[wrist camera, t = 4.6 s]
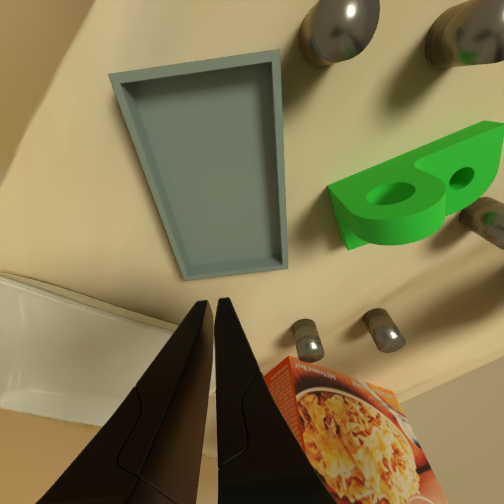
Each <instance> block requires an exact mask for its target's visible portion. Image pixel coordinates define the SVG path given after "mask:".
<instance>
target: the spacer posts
mask: <svg viewBox="0 0 504 504" xmlns="http://www.w3.org/2000/svg"><path fill="white" fill-rule="evenodd" d="M379 13H380V3H379V0H319V1H318V2H317V3H316V4H315V6H314V7H313V8H312V9H311V10H310V11H309V12H308V14H307V15H306V17H305V19H304V21H303V23H302V26H301V30H300V38H299V41H300V48H301V52H302V54H303V56H304V58H305V59H306V60H307V61H308V62H309V63H310V64H312V65H314V66H319V67H320V66H326V65H330V64H334V63H337V62H341V61H345V60H349V59H351V58H353V57H355V56H357V55H358V54H359V53H361V52H362V51H363V50H364V49H365V47H366V46H367V45H368V44H369V42H370V41H371V39H372V37H373V35H374V33H375V30H376V28H377V24H378V20H379ZM425 56H426V59H427V61H428V63H429V64H430V65H431V66H433V67H435V68H448V67H458V66H468V65H478V64H488V63H496V62H500V61H503V60H504V0H469V1H467V2H464V3H461V4H459V5H456V6H454V7H451V8H449V9H448V10H446V11H445V12H444V13H443V14H442V15H441V16H440V17H439V18H438V19H437V20H436V21H435V23H434V24H433V26H432V28H431V29H430V31H429V34H428V36H427V39H426V44H425ZM460 223H461V224H462V225H463V226H465V227H466V228H468V229H470V230H471V231H473V232H474V233H476V234H478V235H479V236H481V237H483V238H484V239H486V240H487V241H489V242H491V243H492V244H494V245H496V246H497V247H499V248H500V249H503V250H504V203H501V202H499V201H497V200H495V199H492V198H490V197H482V198H479V199H477V200H476V201H475V202H473V203H472V204H471V205H469V206H467V207H466V208H464V210H463V211H462V212H461V215H460ZM363 321H364V323H365V325H366V327H367V329H368V330H369V332H370V334H371V336H372V338H373V340H374V342H375V344H376V346H377V347H378V349H379V351H381V352H385V353H389V352H394V351H397V350H399V349H401V348H402V347H403V346H404V345H405V343H406V340H405V339H404V337H403V335H402V334H401V332H400V331H399V329H398V328H397V326H396V325H395V323H394V322H393V320H392V319H391V317H390V316H389V314H388V313H387V311H386V310H384V309H381V308H378V309H373V310H371V311H369V312H367V313H366V314H365V315H364V317H363ZM292 330H293V335H294V339H295V344H296V349H297V353H298V358H299V360H300V361H302V362H305V363H313V362H317V361H319V360H321V359H322V358H323V357H324V350H323V347H322V344H321V340H320V337H319V334H318V331H317V328H316V325H315V322H314V321H312V320H310V319H302V320H299V321H297V322H295V323H294V324H293V326H292Z"/></svg>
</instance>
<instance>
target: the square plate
mask: <svg viewBox="0 0 504 504" xmlns="http://www.w3.org/2000/svg"><path fill="white" fill-rule="evenodd" d="M178 326H179V325H175V324H172V323H169V322H165V321H162V320H159V319H156V318H152V317H149V316H146V315H143V314H140V313H136V312H133V311H130V310H127V309H124V308H121V307H118V306H115V305H112V304H109V303H106V302H103V301H100V300H97V299H94V298H91V297H88V296H86V295H83V294H80V293H76V292H73V291H70V290H67V289H64V288H61V287H58V286H54V285H51V284H47V283H44V282H40V281H37V280H33V279H29V278H26V277H22V276H18V275H13V274H7V273H0V408H1V409H7V410H12V411H18V412H23V413H28V414H33V415H38V416H44V417H49V418H54V419H60V420H65V421H71V422H77V423H84V424H90V425H97V426H104V424H105V423H106V422H107V421H108V420H109V418H110V417H111V416H112V415H113V413H114V412H115V411H116V410H117V408H118V407H119V406H120V404H121V403H122V402H123V400H124V399H125V398H126V396H127V395H128V394H129V392H130V391H131V390H132V388H133V387H134V386H136V383H137V382H138V380H139V379H140V378H141V376H142V375H143V374H144V372H145V371H146V370H147V368H148V367H149V365H150V364H151V363H152V361H153V360H154V359H155V357H156V356H157V355H158V353H159V352H160V351H161V349H162V348H163V346H164V345H165V344H166V342H167V341H168V340H169V338H170V337H171V336H172V334H173V333H174V332H175V330H176V329H177V327H178ZM215 390H216V377H215V342H214V336H213V365H212V374H211V382H210V390H209V397H210V396H211V394H212V393H213V392H214V391H215Z"/></svg>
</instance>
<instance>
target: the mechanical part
mask: <svg viewBox="0 0 504 504" xmlns="http://www.w3.org/2000/svg"><path fill="white" fill-rule="evenodd" d="M503 138H504V123H498V122H491V121H482V122H479V123H477V124H475V125H472V126H470V127H467V128H465V129H462V130H460V131H458V132H455V133H453V134H450V135H448V136H446V137H443V138H441V139H438V140H436V141H434V142H431V143H429V144H426V145H424V146H422V147H419V148H417V149H414V150H412V151H409V152H407V153H405V154H402V155H400V156H397V157H395V158H393V159H390V160H388V161H385V162H383V163H381V164H378V165H376V166H373V167H371V168H369V169H366V170H364V171H361V172H359V173H357V174H354V175H352V176H349V177H347V178H344V179H342V180H340V181H337V182H335V183H332V184H330V185H328V186H327V187H328V191H329V195H330V199H331V202H332V206H333V210H334V214H335V218H336V222H337V225H338V229H339V233H340V237H341V241H342V242H343V244H344V245H345V247H346V248H347V250H348V251H349V250H351V249H354V248H357V247H360V246H363V245H365V244H368V243H372V244H377V245H402V244H408V243H413V242H416V241H419V240H422V239H424V238H426V237H428V236H430V235H432V234H433V233H435V232H436V231H437V230H438V229H439V228H440V227H441V226H442V224H443V223H444V220H445V216H447V215H450V214H453V213H455V212H458V211H460V210H462V209H464V208H466V207H467V206H469V205H471V204H472V203H473V202H475V201H476V200H477V199H478V198H479V197H480V196H481V195H482V194H483V193H484V192H485V191H486V190H487V189H488V188H489V186H490V185H491V183H492V182H493V180H494V178H495V176H496V174H497V171H498V168H499V163H500V157H501V151H502V144H503ZM455 172H456V173H455ZM454 173H455V174H454ZM453 174H454V176H453ZM452 176H453V177H452ZM451 177H452V178H451Z"/></svg>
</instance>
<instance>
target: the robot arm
mask: <svg viewBox="0 0 504 504" xmlns="http://www.w3.org/2000/svg"><path fill="white" fill-rule="evenodd" d="M214 342H215V377H216V412H217V447H218V468H219V470H218V504H338V502H337V501H336V500H335V498H334V497H333V496H332V494H331V493H330V492H329V490H328V489H327V487H326V486H325V484H324V483H323V482H322V480H321V479H320V477H319V475H318V474H317V472H316V471H315V469H314V468H313V466H312V464H311V463H310V461H309V459H308V458H307V456H306V454H305V453H304V451H303V449H302V448H301V446H300V444H299V442H298V441H297V439H296V437H295V436H294V434H293V432H292V431H291V429H290V427H289V426H288V424H287V422H286V421H285V419H284V417H283V415H282V414H281V412H280V410H279V408H278V406H277V405H276V403H275V401H274V399H273V397H272V395H271V393H270V391H269V389H268V386H267V384H266V382H265V380H264V377H263V375H262V373H261V371H260V368H259V366H258V363H257V361H256V359H255V356H254V354H253V352H252V349H251V347H250V345H249V342H248V340H247V338H246V335H245V333H244V331H243V328H242V326H241V324H240V321H239V319H238V317H237V314H236V312H235V309H234V307H233V305H232V302H231V300H230V298H228V297H227V298H220V299H219V300H218V305H217V311H216V317H215V324H214ZM212 365H213V314H212V311H211V307H210V304H209V302H208V301H207V300H203V301H197V302H196V303H195V304H194V306H193V307H192V308H191V310H190V311H189V313H188V314H187V315H186V317H185V318H184V319H183V321H182V322H181V323H180V325H179V326H178V327H177V329H176V330H175V332H174V333H173V334H172V336H171V337H170V338H169V340H168V341H167V342H166V344H165V345H164V346H163V348H162V349H161V351H160V352H159V353H158V355H157V356H156V357H155V359H154V360H153V361H152V363H151V364H150V365H149V367H148V368H147V370H146V371H145V372H144V374H143V375H142V376H141V378H140V379H139V380H138V382H137V383H136V386H134V387H133V388H132V390H131V391H130V392H129V394H128V395H127V396H126V398H125V399H124V400H123V402H122V403H121V404H120V406H119V407H118V408H117V410H116V411H115V412H114V413H113V415H112V416H111V417H110V418H109V420H108V421H107V422H106V423H105V424H104V426H103V427H102V428H101V429H100V430H99V432H98V433H97V434H96V435H95V436H94V438H93V439H92V440H91V441H90V442H89V444H88V445H87V446H86V447H85V448H84V449H83V451H82V452H81V453H80V454H79V455H78V456H77V457H76V459H75V460H74V461H73V462H72V463H71V465H70V466H69V467H68V468H67V469H66V470H65V471H64V473H63V474H62V475H61V476H60V477H59V479H58V480H57V481H56V482H55V483H54V484H53V485H52V487H51V488H50V489H49V490H48V491H47V492H46V493H45V495H43V496H42V497H41V498H40V499H39V500H38V501H37V502H36V503H35V504H196V498H197V490H198V481H199V473H200V465H201V457H202V448H203V440H204V432H205V423H206V415H207V407H208V399H209V390H210V382H211V374H212Z"/></svg>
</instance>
